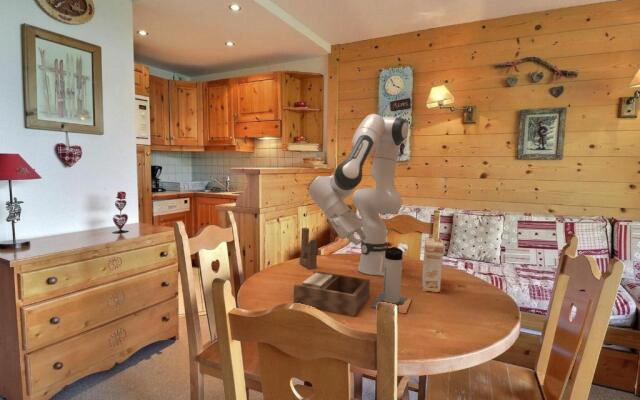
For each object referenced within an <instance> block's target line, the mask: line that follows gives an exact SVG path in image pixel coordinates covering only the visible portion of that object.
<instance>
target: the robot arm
mask: <svg viewBox="0 0 640 400" xmlns="http://www.w3.org/2000/svg"><path fill="white" fill-rule="evenodd" d="M408 134H409V124H408V121H407V119H405V118H403V117H402V118H401V117H392V116H382V115H379V114H377V113H370V114H368V115H367V116H365V118H364V119H363V120H362V121H361V122H360V124H359V125H358V127H357V129H356V130H355V132H354V134H353V136H352V139H351V142H350V146H351V148H352V150H351V152H350V153H349V155H348V157H347V158H346V159H345V160H344V161H342V162H340V163H339V164H338V165H337V167H336V168H335V171H334V174H332V175H328V176H322V175H317V176H315V177H314V178H313V179H312V180H311V182H310V183H309V184H308V187H307V192H308V195H309V196H310V197H311V199H312V201H313V202H314V203H315V205H316V206H317V207H318V208H320V210H321V211H322V212H323V215H324V216H325V217H326V218H327V219H328V221H329V222H330V223H331V226H332V228H333V230H335V232H336V233H337V235H338V236H339V238H341V239H342V240H345V239H346V238H347V240H349V241H350V242H351V243H353V244H354V246H355V247H357V246H358V245H360V249H361V250H360V251H361V253H360V257H359V258H360V259H359V262H358V265H357V271H358V272H359V273H361V274H365V275H372V276H381V277H384V263H385V250H386V249H387V248H392V247H394V246H393V243H392V242H390V241H389V242H387V229H388V228H387V224H386V223H385V222H384V221H383V220H382V218H381V216H380V214H383V215H393V214H398V212H399V211H400V210H401V208H402V206H403V200H402V196H401V195H400V194H399V193H398V190H397V188H396V185H395V175H396V169H397V164H398V160H399V159H398V158H399V151H400V150H399V149H400V145H401V144H402V143H403V142H404V141H405V140H406V139H407V137H408ZM373 153H374V156H373V160H372V165H371V169H370V176H371V178H372V179H373V180H374V181H375V183H376V184H375V185H376V188H373V187H372V188H371V187H363V188H357V189H356V187H357V186H359V184H360V183H361V182H362V179H363V166H364V163H365V162H366V160H367V159H368V156H371V155H372V154H373ZM355 189H356V190H355ZM354 190H355V191H354ZM353 192H354V193H353ZM352 193H353V195H352ZM350 195H352V198H351V199H352V204H353V206H354V207H355V208H356V209H357V211H358V213H359V216H360V218H359V216H358V215H357V213H356V212H355V211H354V208H353V206H351V205H350V204H348V203H346V202H345V201H344V199H346V198H349V196H350ZM354 233H356V234H358V236H359V238H360V239H361V240H359V238H356V237H355V236H354ZM402 270H403V271H404V267H402Z"/></svg>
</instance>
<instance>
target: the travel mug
mask: <svg viewBox="0 0 640 400" xmlns="http://www.w3.org/2000/svg"><path fill="white" fill-rule="evenodd" d="M403 252H404V251H403V250H402V249H401V248H398V246H392V247H388V248H387V249H386V250H385V263H384V276H383V283H382V294H383V298H382V301H383V302H387V303H392V304H396V305H398V304H399V303H400V297H401V286H402V272H403V271H402V268H403V255H404V254H403Z"/></svg>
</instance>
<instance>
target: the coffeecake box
mask: <svg viewBox="0 0 640 400" xmlns="http://www.w3.org/2000/svg"><path fill="white" fill-rule="evenodd" d="M424 241H425V242H424V250H423V251H424V253H423V264H422V265H423V266H422V278H421V279H422V282H421V283H422V286H423V289H424V290H434V291H440V292H441V283H442V282H441V281H442V271H443V259H444V248H445V247H444V243H443V240H442V238H436V237H435V238H434V237H425V239H424ZM423 289H422V290H423Z"/></svg>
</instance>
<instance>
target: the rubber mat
mask: <svg viewBox="0 0 640 400" xmlns="http://www.w3.org/2000/svg"><path fill="white" fill-rule="evenodd" d="M382 298H383V292H380V293H379V295H378V297H377V298H376V299H375V300H374V303H373V304H372V306H371V308H372V309H376V305H377V303H378V302H383V301H382ZM408 298H409V297H405V296H400V303H399V304H398V305H397V306H399V305H403V304H404V302H405V301H406V300H407V299H408ZM376 310H377V309H376ZM398 312H399V307H398Z"/></svg>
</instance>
